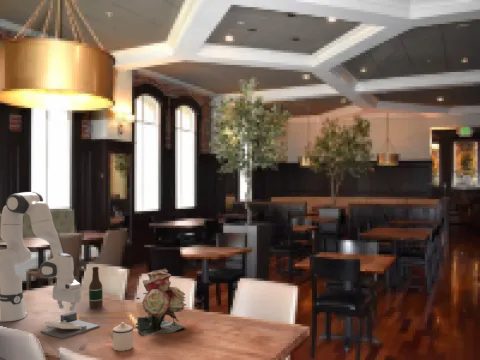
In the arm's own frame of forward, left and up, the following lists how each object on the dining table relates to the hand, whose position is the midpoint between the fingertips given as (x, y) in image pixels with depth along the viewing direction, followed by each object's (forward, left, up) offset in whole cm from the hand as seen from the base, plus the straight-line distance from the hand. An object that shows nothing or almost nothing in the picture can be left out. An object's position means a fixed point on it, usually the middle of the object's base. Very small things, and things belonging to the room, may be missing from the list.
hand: (66, 309), depth 268 cm
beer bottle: (-13, +30, -7) cm, 33 cm away
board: (+13, -7, -7) cm, 17 cm away
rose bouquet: (+50, +21, -7) cm, 55 cm away
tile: (+13, -11, -3) cm, 18 cm away
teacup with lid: (+55, -11, -7) cm, 57 cm away
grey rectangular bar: (-1, -2, -7) cm, 7 cm away
